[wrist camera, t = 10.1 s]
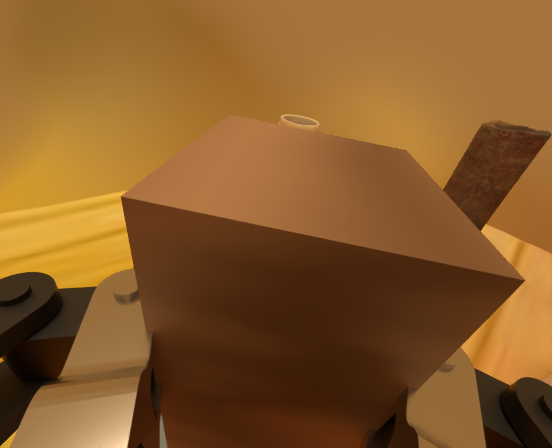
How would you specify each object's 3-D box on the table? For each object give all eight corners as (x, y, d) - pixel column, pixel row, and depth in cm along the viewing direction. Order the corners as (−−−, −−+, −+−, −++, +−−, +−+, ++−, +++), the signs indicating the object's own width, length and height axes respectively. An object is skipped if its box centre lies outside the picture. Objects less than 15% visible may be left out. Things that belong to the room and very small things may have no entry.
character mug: (256, 177, 55) (265, 111, 48) (282, 172, 59) (294, 110, 52) (291, 202, 49) (308, 130, 41) (317, 194, 53) (336, 128, 46)
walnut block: (169, 459, 9) (120, 196, 3) (216, 328, 13) (229, 114, 7) (317, 492, 9) (524, 280, 3) (316, 349, 13) (406, 150, 7)
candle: (444, 264, 40) (538, 132, 29) (406, 236, 45) (473, 114, 34) (470, 254, 44) (564, 133, 33) (432, 229, 49) (501, 116, 38)
